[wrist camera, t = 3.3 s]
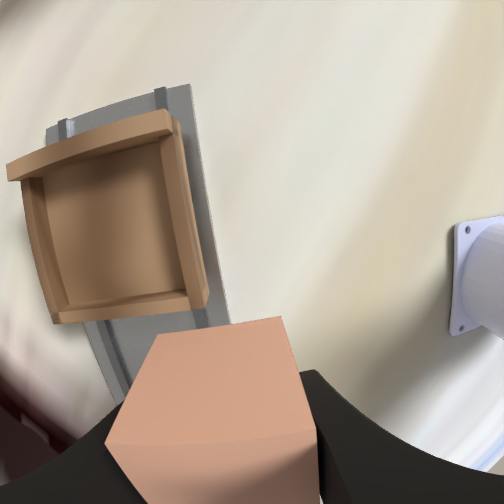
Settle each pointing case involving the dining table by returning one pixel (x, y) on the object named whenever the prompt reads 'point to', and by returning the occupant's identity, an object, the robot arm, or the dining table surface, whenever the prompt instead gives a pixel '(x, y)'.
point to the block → (219, 420)
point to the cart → (114, 221)
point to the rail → (216, 310)
